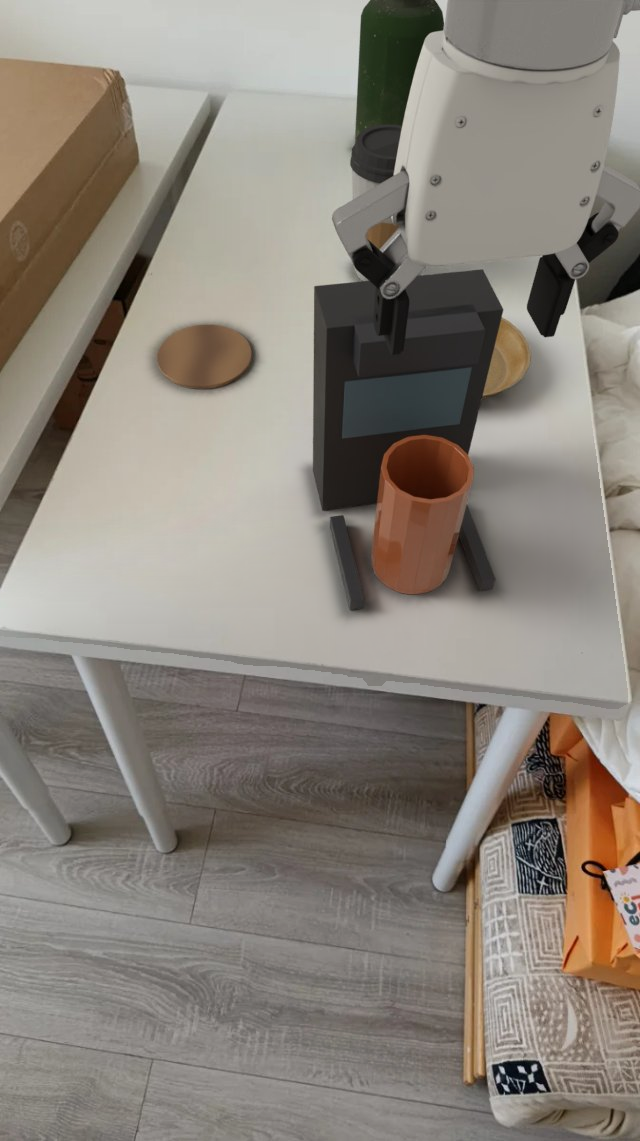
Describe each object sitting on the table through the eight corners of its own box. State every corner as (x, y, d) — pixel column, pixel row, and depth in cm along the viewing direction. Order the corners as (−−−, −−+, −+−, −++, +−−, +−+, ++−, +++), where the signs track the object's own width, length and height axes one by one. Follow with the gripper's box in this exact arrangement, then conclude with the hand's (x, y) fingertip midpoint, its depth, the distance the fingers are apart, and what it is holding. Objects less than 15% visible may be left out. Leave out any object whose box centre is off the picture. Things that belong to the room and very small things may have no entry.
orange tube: (380, 599, 65) (393, 508, 55) (363, 536, 69) (373, 440, 59) (458, 588, 66) (485, 496, 56) (437, 526, 70) (458, 430, 60)
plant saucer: (484, 311, 88) (489, 291, 86) (551, 395, 80) (557, 376, 78) (364, 339, 85) (365, 319, 82) (421, 430, 77) (424, 410, 75)
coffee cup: (429, 277, 91) (448, 147, 79) (373, 301, 89) (383, 170, 76) (387, 243, 95) (398, 114, 83) (331, 265, 93) (334, 135, 80)
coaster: (160, 394, 79) (160, 391, 79) (154, 332, 85) (154, 329, 85) (257, 383, 80) (257, 380, 80) (245, 323, 86) (245, 320, 86)
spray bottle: (365, 126, 112) (378, -94, 92) (435, 137, 111) (464, -84, 90) (345, 160, 107) (354, -66, 86) (418, 173, 105) (445, -55, 85)
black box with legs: (346, 611, 64) (359, 439, 48) (312, 470, 73) (314, 285, 57) (495, 589, 66) (557, 415, 50) (444, 453, 75) (483, 268, 59)
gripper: (674, -30, 37) (573, 282, 51) (323, -10, 35) (318, 309, 49) (752, 34, 33) (620, 355, 47) (359, 61, 31) (342, 388, 45)
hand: (466, 331), depth 48 cm, fingers open, 9 cm apart
